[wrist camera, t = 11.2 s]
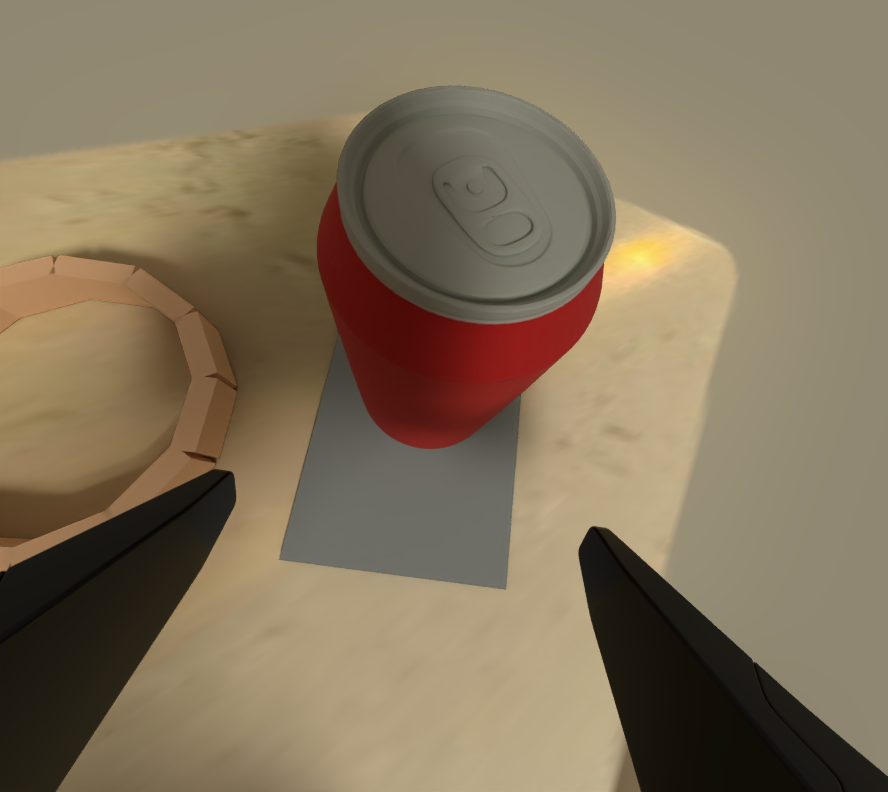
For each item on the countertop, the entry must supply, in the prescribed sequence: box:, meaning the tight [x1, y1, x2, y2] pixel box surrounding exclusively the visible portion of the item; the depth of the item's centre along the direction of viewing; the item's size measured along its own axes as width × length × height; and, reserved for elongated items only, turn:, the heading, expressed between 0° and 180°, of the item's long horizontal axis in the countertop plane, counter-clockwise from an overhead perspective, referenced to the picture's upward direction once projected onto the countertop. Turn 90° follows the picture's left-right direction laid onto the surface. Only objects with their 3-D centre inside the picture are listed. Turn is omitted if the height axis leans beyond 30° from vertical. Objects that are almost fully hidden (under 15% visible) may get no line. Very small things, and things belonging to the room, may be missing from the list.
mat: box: [279, 335, 521, 589], centre depth 18 cm, size 18×10×1 cm, turn 172°
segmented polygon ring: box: [0, 255, 238, 571], centre depth 15 cm, size 13×13×2 cm
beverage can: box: [317, 86, 616, 449], centre depth 12 cm, size 7×7×12 cm
